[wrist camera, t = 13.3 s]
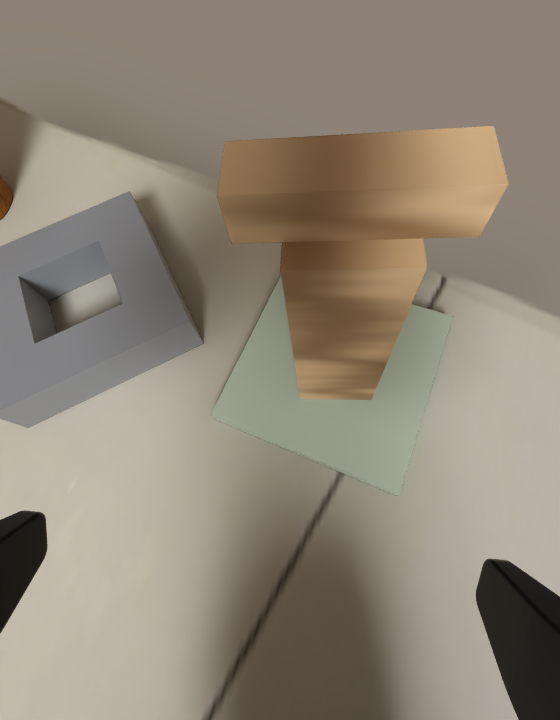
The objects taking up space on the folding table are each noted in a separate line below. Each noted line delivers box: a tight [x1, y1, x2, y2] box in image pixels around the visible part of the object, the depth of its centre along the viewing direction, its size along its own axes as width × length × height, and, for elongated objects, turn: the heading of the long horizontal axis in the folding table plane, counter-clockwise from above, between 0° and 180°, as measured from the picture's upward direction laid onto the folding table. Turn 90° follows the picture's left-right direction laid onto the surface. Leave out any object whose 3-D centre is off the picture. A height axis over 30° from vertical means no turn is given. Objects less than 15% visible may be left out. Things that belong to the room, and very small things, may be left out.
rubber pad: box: [211, 276, 453, 496], centre depth 23 cm, size 11×11×1 cm
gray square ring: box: [0, 191, 203, 428], centre depth 25 cm, size 12×12×3 cm
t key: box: [217, 126, 508, 400], centre depth 16 cm, size 7×4×14 cm, turn 88°
